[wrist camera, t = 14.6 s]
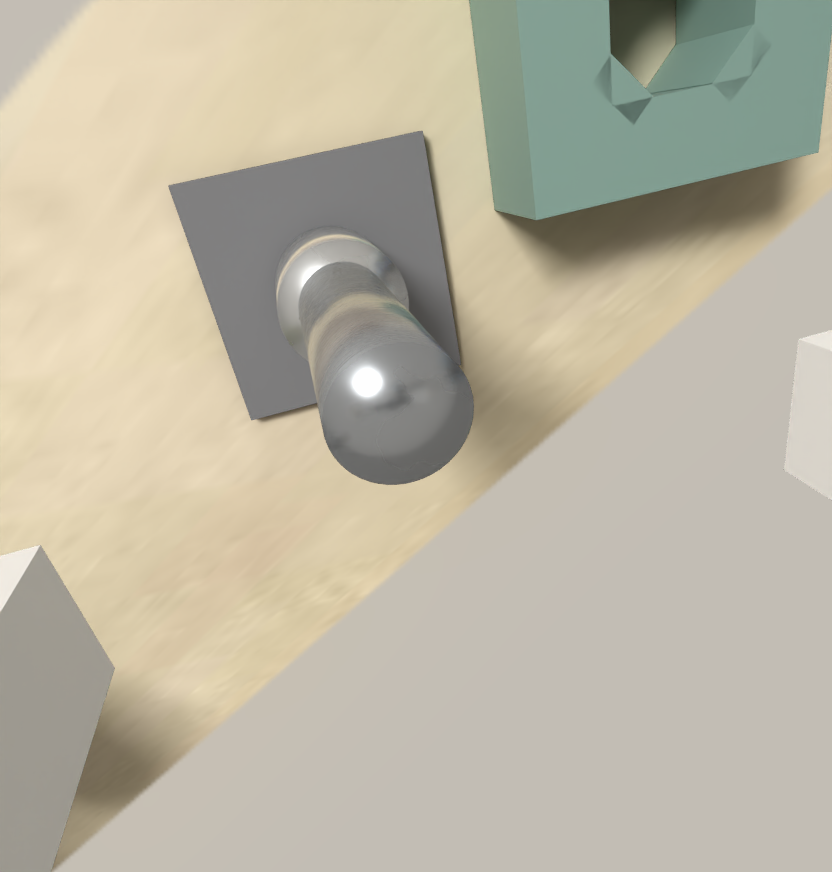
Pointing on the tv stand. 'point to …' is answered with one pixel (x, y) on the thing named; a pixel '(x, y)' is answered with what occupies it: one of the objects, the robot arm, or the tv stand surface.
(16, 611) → the robot arm
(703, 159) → the housing
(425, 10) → the tv stand surface
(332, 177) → the mat
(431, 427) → the grey metallic waisted cylinder
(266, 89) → the tv stand surface
